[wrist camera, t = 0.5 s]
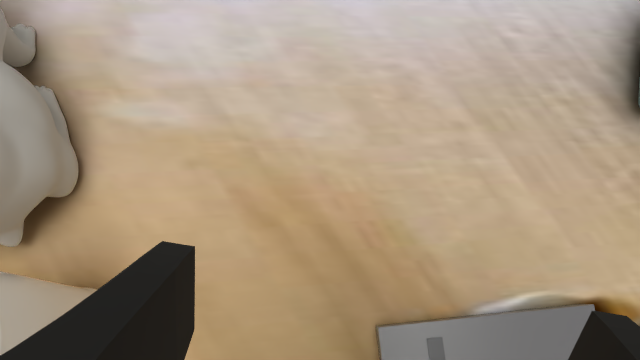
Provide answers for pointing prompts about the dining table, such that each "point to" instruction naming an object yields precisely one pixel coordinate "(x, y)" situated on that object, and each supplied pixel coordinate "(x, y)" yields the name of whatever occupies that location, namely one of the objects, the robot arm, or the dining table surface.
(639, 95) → the flower pot
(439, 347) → the panel
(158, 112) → the dining table surface
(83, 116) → the dining table surface
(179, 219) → the dining table surface
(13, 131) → the rabbit
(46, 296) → the drinking glass
